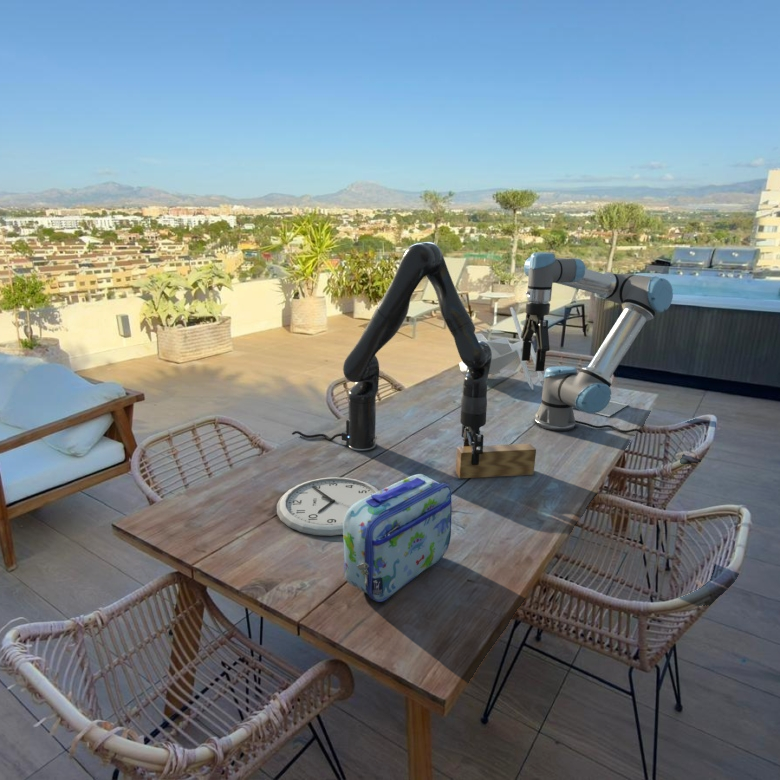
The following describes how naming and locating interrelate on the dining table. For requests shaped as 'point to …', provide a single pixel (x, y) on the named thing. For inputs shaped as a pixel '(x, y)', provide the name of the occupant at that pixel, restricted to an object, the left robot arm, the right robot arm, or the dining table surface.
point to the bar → (497, 461)
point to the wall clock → (321, 504)
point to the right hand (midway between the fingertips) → (532, 365)
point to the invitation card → (612, 408)
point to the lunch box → (396, 535)
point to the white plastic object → (506, 353)
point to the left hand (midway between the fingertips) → (470, 458)
